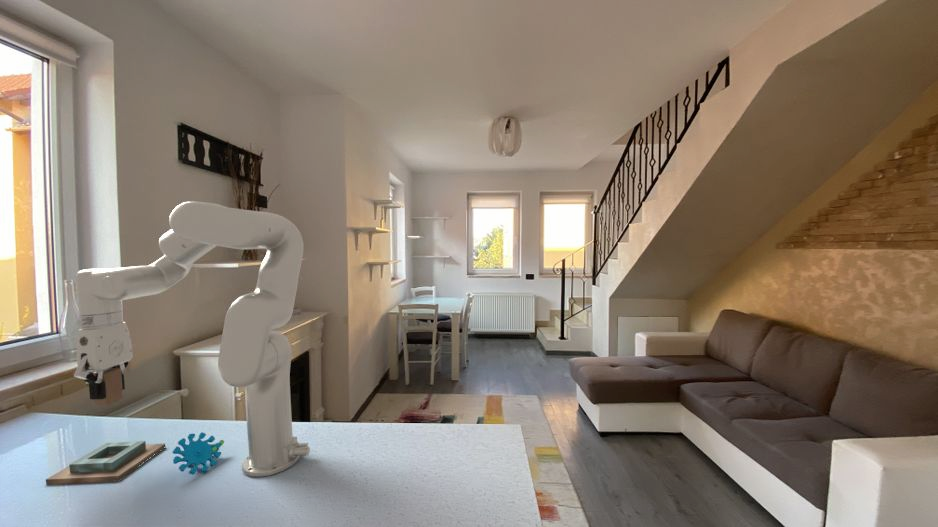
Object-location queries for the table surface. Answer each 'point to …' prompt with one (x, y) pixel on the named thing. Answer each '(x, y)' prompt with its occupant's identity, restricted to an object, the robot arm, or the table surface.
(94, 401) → the wooden block
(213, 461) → the gear
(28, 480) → the table surface
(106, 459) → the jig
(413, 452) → the table surface
